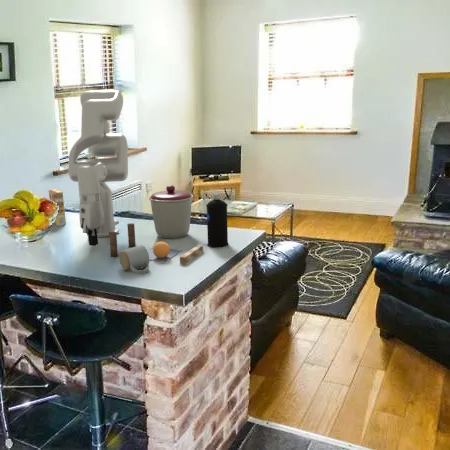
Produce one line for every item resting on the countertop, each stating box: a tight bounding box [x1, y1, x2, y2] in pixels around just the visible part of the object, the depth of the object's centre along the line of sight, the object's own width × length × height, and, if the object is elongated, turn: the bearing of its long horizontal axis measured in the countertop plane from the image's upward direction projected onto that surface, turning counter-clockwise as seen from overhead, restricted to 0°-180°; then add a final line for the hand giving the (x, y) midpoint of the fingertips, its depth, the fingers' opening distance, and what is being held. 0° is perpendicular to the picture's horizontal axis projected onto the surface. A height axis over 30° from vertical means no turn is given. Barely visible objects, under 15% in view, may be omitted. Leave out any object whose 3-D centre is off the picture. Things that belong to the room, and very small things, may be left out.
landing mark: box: [146, 246, 183, 262], centre depth 205 cm, size 14×14×1 cm
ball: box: [152, 241, 171, 258], centre depth 200 cm, size 6×6×6 cm
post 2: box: [127, 222, 137, 248], centre depth 215 cm, size 3×3×9 cm
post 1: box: [108, 232, 119, 258], centre depth 203 cm, size 3×3×9 cm
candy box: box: [48, 188, 67, 227], centre depth 254 cm, size 9×4×15 cm, turn 33°
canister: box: [148, 184, 194, 240], centre depth 228 cm, size 18×18×21 cm
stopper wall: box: [179, 244, 204, 265], centre depth 200 cm, size 16×2×2 cm, turn 160°
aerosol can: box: [205, 193, 229, 249], centre depth 213 cm, size 8×8×20 cm
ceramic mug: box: [118, 244, 150, 275], centre depth 187 cm, size 11×8×8 cm
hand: (93, 244), depth 214 cm, fingers closed
